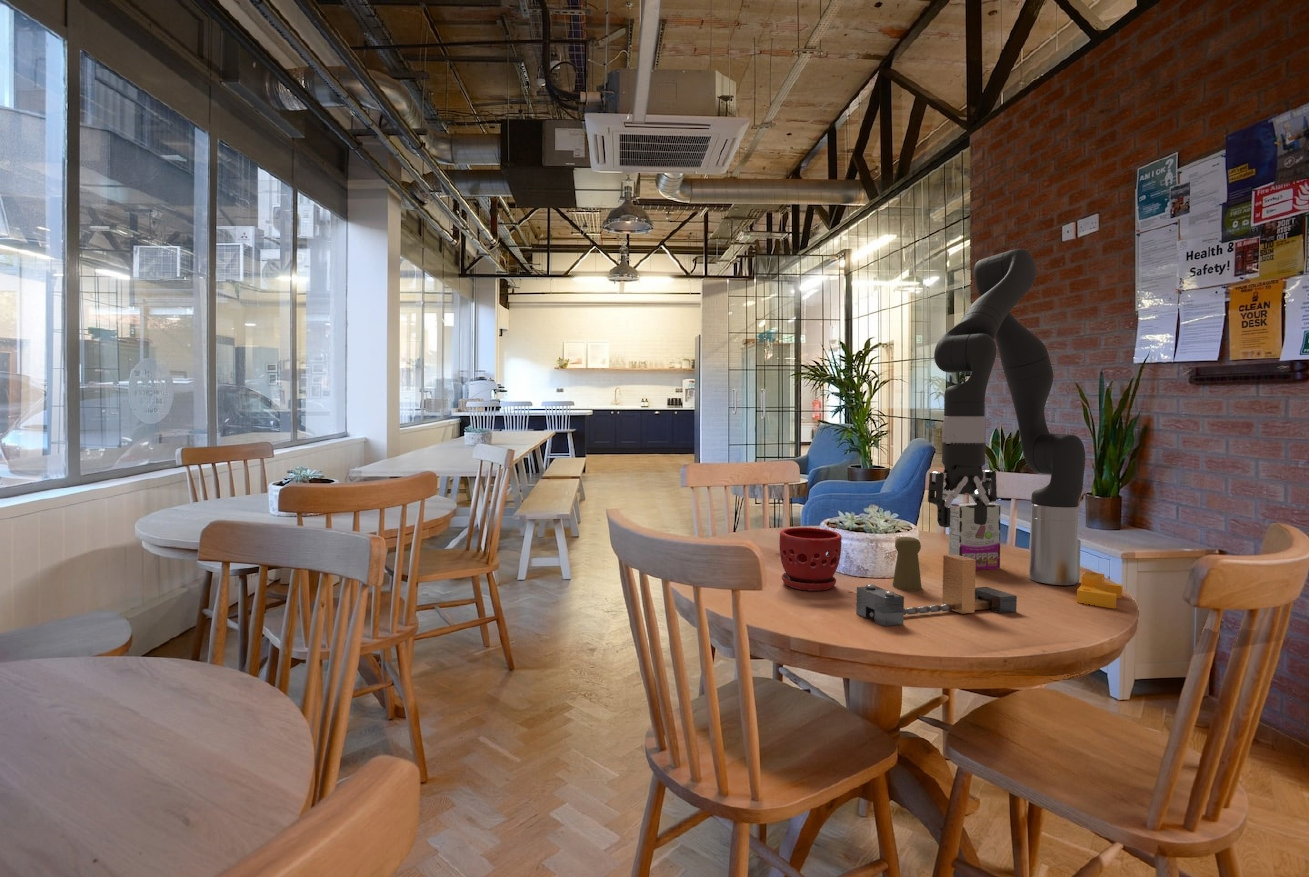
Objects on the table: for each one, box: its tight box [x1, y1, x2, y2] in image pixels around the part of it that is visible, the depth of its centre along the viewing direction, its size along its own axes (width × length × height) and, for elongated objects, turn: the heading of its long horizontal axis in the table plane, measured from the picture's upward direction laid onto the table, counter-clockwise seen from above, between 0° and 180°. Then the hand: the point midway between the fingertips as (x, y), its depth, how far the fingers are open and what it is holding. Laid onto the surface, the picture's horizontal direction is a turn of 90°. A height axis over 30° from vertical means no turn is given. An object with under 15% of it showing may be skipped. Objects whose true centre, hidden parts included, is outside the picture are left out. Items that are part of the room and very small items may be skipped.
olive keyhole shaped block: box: [892, 536, 923, 592], centre depth 148 cm, size 6×6×11 cm
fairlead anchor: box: [855, 583, 905, 627], centre depth 124 cm, size 4×8×6 cm, turn 19°
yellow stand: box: [1076, 571, 1123, 609], centre depth 140 cm, size 12×4×6 cm
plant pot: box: [779, 526, 842, 592], centre depth 148 cm, size 13×13×12 cm
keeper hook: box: [975, 586, 1018, 614], centre depth 133 cm, size 4×7×3 cm, turn 19°
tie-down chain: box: [870, 554, 992, 619], centre depth 128 cm, size 28×5×10 cm, turn 109°
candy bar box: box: [948, 502, 1001, 571], centre depth 167 cm, size 11×5×16 cm, turn 102°
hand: (962, 525), depth 130 cm, fingers open, 8 cm apart
